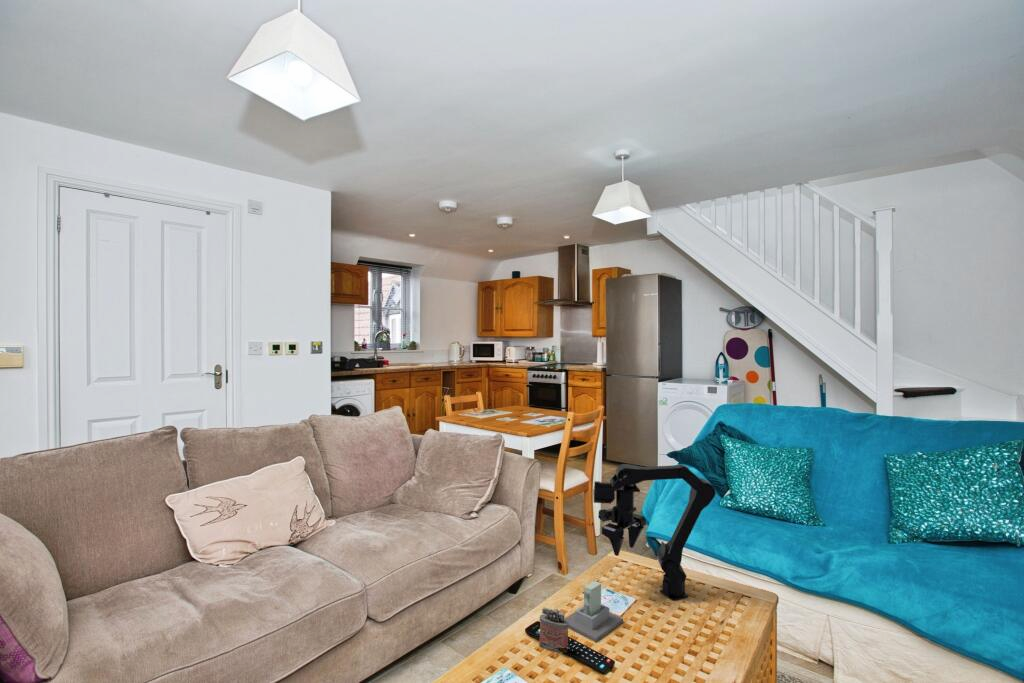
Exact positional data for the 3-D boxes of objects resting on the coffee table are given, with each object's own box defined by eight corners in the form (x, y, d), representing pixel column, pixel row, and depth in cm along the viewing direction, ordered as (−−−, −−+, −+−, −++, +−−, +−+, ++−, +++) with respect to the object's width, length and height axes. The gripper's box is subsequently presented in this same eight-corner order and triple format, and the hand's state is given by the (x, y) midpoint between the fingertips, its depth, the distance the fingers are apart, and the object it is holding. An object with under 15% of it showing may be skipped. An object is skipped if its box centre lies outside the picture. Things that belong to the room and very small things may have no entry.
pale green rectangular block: (600, 618, 144) (601, 583, 144) (589, 625, 140) (589, 590, 140) (593, 614, 145) (594, 580, 145) (582, 622, 141) (582, 587, 141)
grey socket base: (623, 622, 144) (623, 608, 144) (595, 642, 134) (595, 627, 134) (589, 606, 152) (589, 593, 152) (560, 624, 142) (561, 610, 142)
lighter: (570, 648, 131) (570, 610, 131) (566, 655, 128) (566, 616, 128) (541, 640, 134) (542, 603, 134) (537, 647, 131) (537, 609, 131)
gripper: (618, 492, 174) (618, 537, 174) (588, 504, 161) (587, 552, 161) (647, 500, 167) (646, 546, 166) (617, 512, 153) (616, 563, 153)
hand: (624, 551), depth 162 cm, fingers open, 9 cm apart
